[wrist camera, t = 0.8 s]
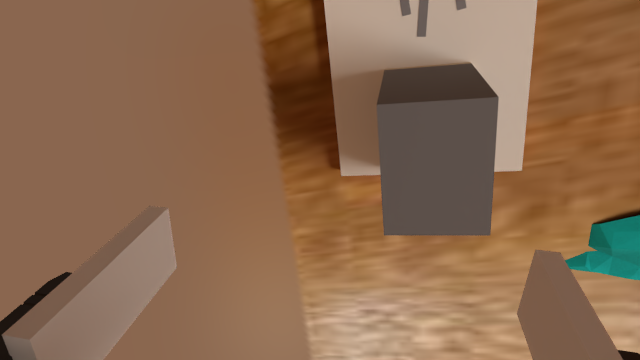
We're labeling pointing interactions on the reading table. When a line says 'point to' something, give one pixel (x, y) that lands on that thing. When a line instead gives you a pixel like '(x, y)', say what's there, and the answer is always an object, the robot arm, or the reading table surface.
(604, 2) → the reading table surface
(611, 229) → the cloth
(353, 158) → the board
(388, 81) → the block
